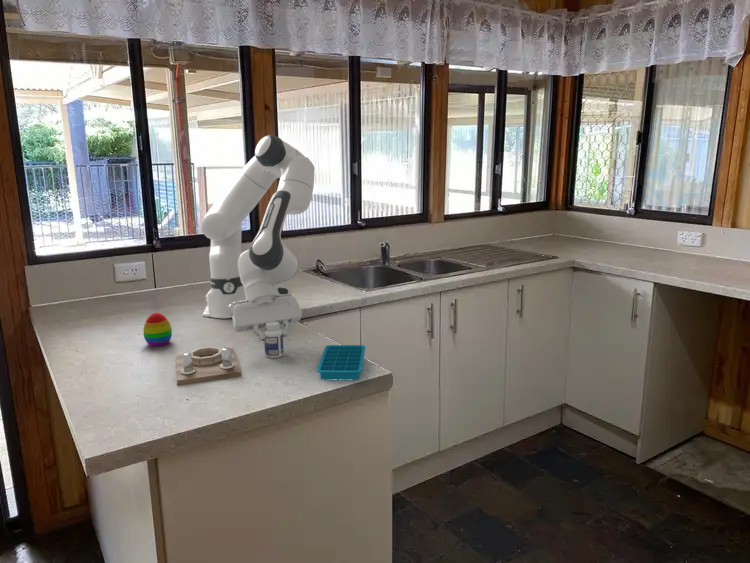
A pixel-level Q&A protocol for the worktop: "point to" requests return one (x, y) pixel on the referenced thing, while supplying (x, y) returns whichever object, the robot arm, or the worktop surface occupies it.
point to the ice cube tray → (341, 362)
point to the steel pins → (190, 370)
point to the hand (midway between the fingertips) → (274, 338)
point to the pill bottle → (273, 340)
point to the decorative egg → (157, 330)
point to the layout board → (206, 366)
